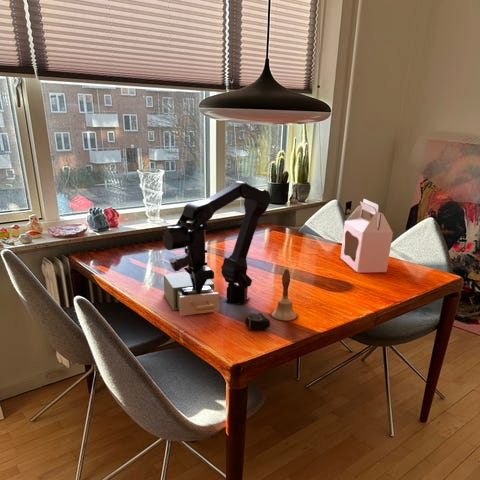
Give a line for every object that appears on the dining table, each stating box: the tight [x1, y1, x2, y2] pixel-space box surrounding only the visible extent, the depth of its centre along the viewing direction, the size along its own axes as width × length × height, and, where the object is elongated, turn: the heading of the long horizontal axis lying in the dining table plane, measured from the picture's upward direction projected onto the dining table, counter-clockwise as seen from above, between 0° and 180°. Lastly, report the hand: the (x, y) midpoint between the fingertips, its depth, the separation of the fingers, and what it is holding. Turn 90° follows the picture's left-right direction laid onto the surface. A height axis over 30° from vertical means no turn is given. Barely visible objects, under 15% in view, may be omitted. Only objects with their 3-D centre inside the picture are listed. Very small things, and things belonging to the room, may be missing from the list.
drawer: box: [176, 286, 220, 317], centre depth 150 cm, size 19×13×6 cm
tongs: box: [182, 286, 211, 296], centre depth 149 cm, size 9×3×2 cm, turn 111°
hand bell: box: [271, 268, 298, 322], centre depth 147 cm, size 8×8×16 cm
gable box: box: [339, 198, 394, 274], centre depth 199 cm, size 22×13×28 cm, turn 8°
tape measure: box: [244, 312, 271, 331], centre depth 141 cm, size 7×7×4 cm
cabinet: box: [163, 271, 215, 312], centre depth 159 cm, size 15×14×8 cm
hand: (196, 291), depth 149 cm, fingers closed on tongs, 3 cm apart
